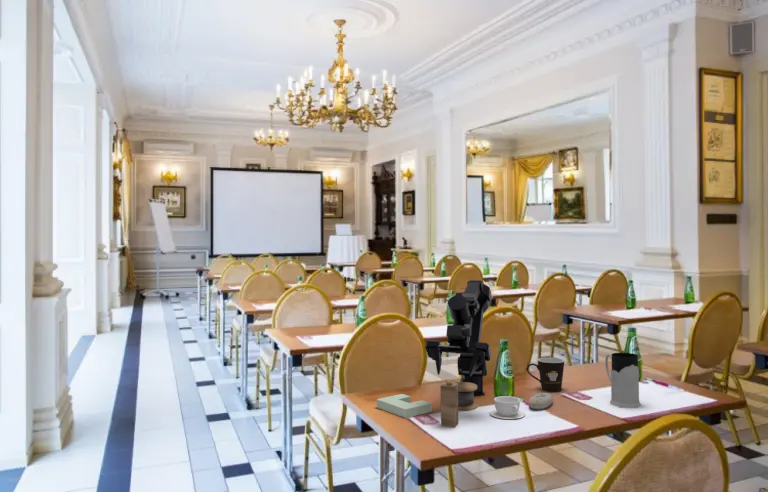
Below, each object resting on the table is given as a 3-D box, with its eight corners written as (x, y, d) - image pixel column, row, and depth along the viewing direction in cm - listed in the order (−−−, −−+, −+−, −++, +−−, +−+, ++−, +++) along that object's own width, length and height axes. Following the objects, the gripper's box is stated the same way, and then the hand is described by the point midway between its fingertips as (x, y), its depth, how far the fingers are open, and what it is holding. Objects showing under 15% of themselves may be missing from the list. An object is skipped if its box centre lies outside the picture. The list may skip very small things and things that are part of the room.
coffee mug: (567, 388, 198) (567, 359, 198) (560, 394, 191) (560, 363, 191) (534, 384, 205) (533, 355, 204) (525, 390, 197) (525, 360, 197)
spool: (471, 401, 184) (471, 381, 184) (481, 409, 175) (481, 388, 175) (444, 403, 182) (444, 382, 182) (452, 411, 174) (452, 389, 173)
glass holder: (620, 408, 174) (620, 358, 174) (594, 396, 188) (593, 349, 188) (647, 406, 176) (646, 356, 176) (618, 394, 190) (618, 348, 190)
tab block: (444, 421, 164) (443, 379, 164) (458, 423, 163) (457, 379, 163) (440, 426, 160) (440, 382, 160) (455, 427, 159) (454, 383, 159)
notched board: (402, 401, 185) (402, 393, 185) (431, 411, 174) (431, 403, 174) (376, 407, 179) (376, 399, 179) (405, 418, 168) (405, 409, 168)
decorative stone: (557, 400, 184) (557, 390, 184) (545, 413, 171) (545, 401, 171) (538, 398, 188) (538, 387, 188) (524, 410, 174) (524, 399, 174)
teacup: (483, 413, 172) (483, 397, 172) (511, 408, 176) (511, 393, 176) (502, 422, 163) (502, 405, 163) (532, 417, 167) (532, 401, 167)
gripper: (426, 313, 175) (416, 357, 165) (488, 315, 169) (483, 360, 159) (433, 335, 183) (424, 378, 172) (493, 338, 177) (487, 382, 166)
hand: (453, 374), depth 167 cm, fingers open, 9 cm apart
